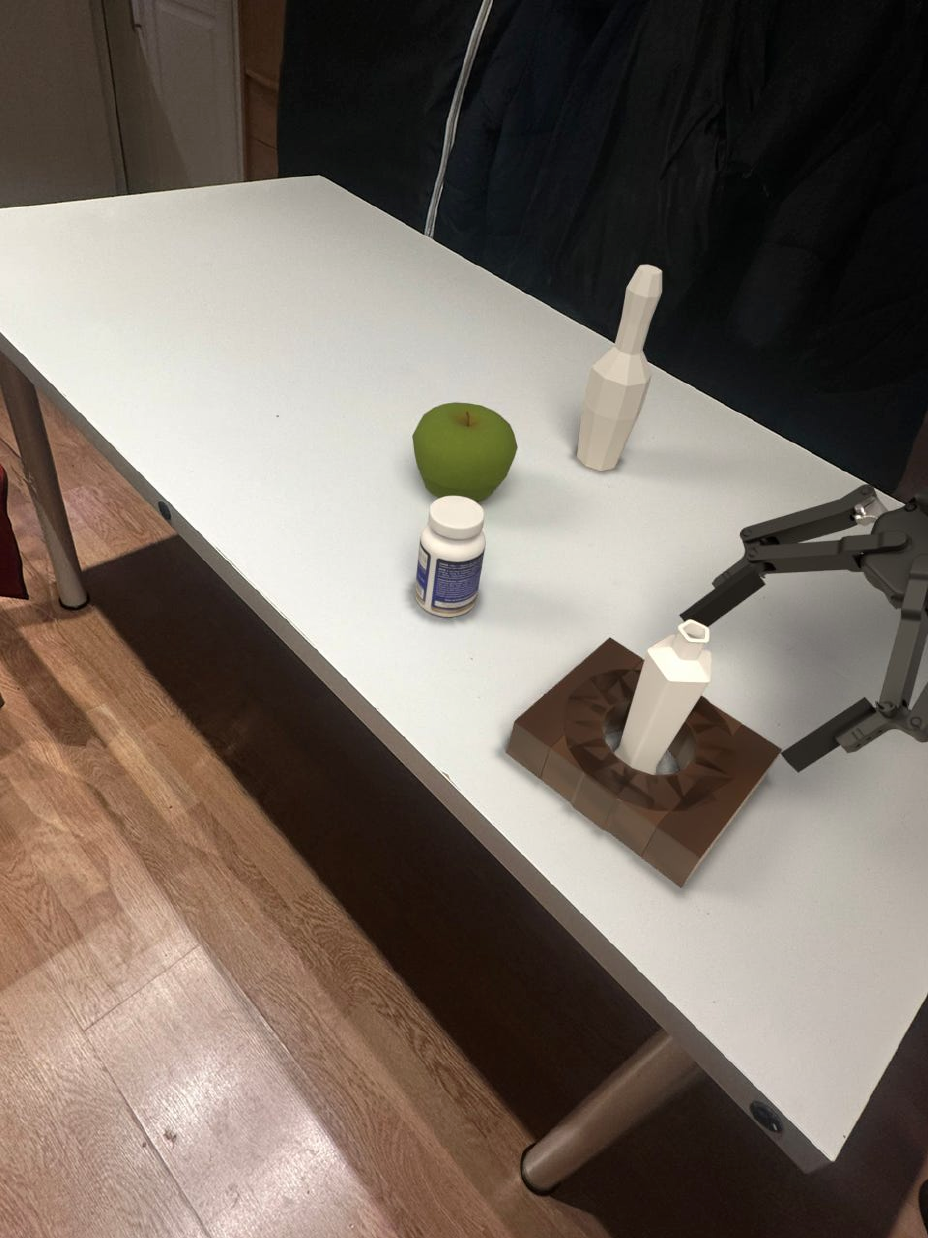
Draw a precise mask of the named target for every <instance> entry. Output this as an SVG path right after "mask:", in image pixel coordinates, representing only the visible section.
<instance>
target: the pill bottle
mask: <svg viewBox="0 0 928 1238" xmlns="http://www.w3.org/2000/svg"><path fill="white" fill-rule="evenodd" d="M427 517H428V518H427V523H426V524H425V525H424V526H423V527H422V530H421V532H420V536H419V545H418V556H417V566H416V575H415V585H414V586H415V587H414V595H415V599H416V601H417V603H418V605H419V606H420V607H421V608H422V609H423V610H425V611H426V612H428V613H429V614H432V615H434V616H438V617H443V618H454V617H455V618H456V617H459V616H462V615H464V614H466V613H468V612H469V611H470V610H472V608H473V607H474V606H475V604H476V602H477V598H478V592H479V586H480V580H481V576H482V569H483V563H484V557H485V551H486V545H487V544H486V543H487V539H486V535H485V532H484V530H483V528H484V525H485V524H484V523H485V510H484V508H483V507H482V506H481V505H480V504H479V503H478V501H476V502H475V501H473V500H471V499H469V498H466V497H461V496H445V497H442V498H437V499H435V500H434V501H432V503H431V504H430V506H429V511H428V516H427Z"/></svg>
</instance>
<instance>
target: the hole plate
mask: <svg viewBox="0 0 928 1238" xmlns="http://www.w3.org/2000/svg"><path fill="white" fill-rule="evenodd" d="M644 660H645V659H644V658H643V657H641V656H640V655H639V654H637V653H635V652H634V651H632V650H631V649H629V648H628V647H626V646H625V645H623V644H622V643H620V642H618V641H617V640H615V639H614V638H612V637H608V638H607V639H606V640H605V641H603V642H602V643H601V644H600V645H599V646H598V647H596V649H594V650H593V651H591V653H590V654H589V655H588V656H587V657H585V658H584V659H583V660H582V661H581V662H580V663H579V664H577V665H576V666H575V667H573V669H571V671H570V672H568V673H567V674H566V675H565V676H564V677H563V678H561V679H560V680H559V681H558V682H557V683H556V684H555V685H553V686H552V687H551V688H549V690H548V691H546V693H544V694H543V695H542V696H541V697H540V698H539V699H538V700H536V701H535V702H534V703H533V704H532V705H530V707H528V708H527V709H526V710H525V711H524V712H523V713H521V714H520V715H519V716H518V717H517V718H516V719H515V720H513V724H512V729H511V733H510V737H509V740H508V744H507V748H506V751H505V753H506V754H507V755H508V756H509V757H510V758H512V759H514V760H515V762H517V763H518V764H520V765H521V766H522V767H524V768H526V770H528V771H529V772H531V774H533V775H534V776H536V777H537V778H538V779H540V781H542V782H543V783H545V784H546V785H547V786H548V787H550V788H551V789H552V790H554V791H555V792H556V793H558V794H559V795H560V796H562V797H563V798H564V799H565V800H567V801H568V802H569V803H570V804H571V805H572V806H573V808H574V809H575V810H576V811H578V812H579V813H581V814H582V815H583V816H585V817H586V818H587V819H588V820H589V821H591V822H592V823H594V824H595V825H596V826H597V827H599V828H600V829H602V830H603V831H606V832H608V833H610V834H611V835H612V836H614V838H616V839H617V840H619V841H620V842H621V843H622V844H624V845H625V846H626V847H627V848H629V849H630V850H631V851H633V852H634V853H636V854H637V855H638V856H639V857H641V858H642V859H643V860H644V861H646V862H647V863H648V864H650V865H651V866H652V867H654V868H655V869H656V870H657V871H659V873H661V874H663V875H664V876H665V877H666V878H667V879H669V880H671V881H672V882H673V883H674V884H676V885H677V886H678V887H680V889H682V888H683V887H684V886H685V884H686V883H687V882H688V880H689V879H690V878H691V876H692V875H693V874H694V872H695V871H696V870H697V868H698V867H699V866H700V864H702V862H703V861H704V860H705V858H706V857H707V855H708V854H709V853H710V851H711V850H712V849H713V847H714V846H715V845H716V843H717V842H718V840H719V839H720V838H721V837H722V835H723V834H724V832H725V831H726V830H727V828H728V827H729V826H730V824H731V823H732V822H733V820H734V819H735V817H737V815H738V814H739V813H740V811H741V810H742V808H743V807H744V806H745V804H746V803H747V802H748V801H749V799H750V798H751V797H752V795H753V793H754V792H755V791H756V790H757V788H759V786H760V785H761V783H762V782H763V781H764V779H765V777H766V776H767V774H768V773H769V771H770V770H771V768H772V767H773V765H774V764H775V762H776V760H777V759H778V757H779V756H780V755H781V752H783V749H782V748H781V747H780V746H777V745H776V744H775V743H773V742H771V740H768V739H767V738H765V737H764V736H762V735H761V734H759V733H758V732H756V731H755V730H753V729H752V728H750V727H749V726H747V725H746V724H744V723H742V722H741V721H739V720H738V719H736V718H734V717H733V716H732V715H730V714H728V713H727V712H726V711H724V710H723V709H721V708H719V707H718V706H716V705H715V704H713V703H712V702H711V701H710V700H708V698H706V697H705V696H704V695H703V694H702V695H701V696H700V698H699V699H698V701H697V703H696V704H695V706H694V707H693V709H692V710H691V712H690V714H689V715H688V717H687V718H686V720H685V722H684V723H683V725H682V726H681V728H680V729H679V731H678V733H677V734H676V736H675V737H674V739H673V741H672V742H671V744H670V745H669V747H668V748H667V751H669V752H670V754H671V755H672V756H673V757H674V759H675V760H676V763H677V767H678V769H679V770H678V771H676V772H673V773H671V774H655V775H652V774H649V773H646V772H643V771H640V770H637V769H634V768H632V767H630V766H629V765H628V764H626V763H625V762H624V761H622V760H621V759H619V758H618V757H617V756H616V755H615V754H614V753H613V752H614V751H613V750H612V748H611V747H610V745H609V744H608V743H607V741H606V736H605V735H608V734H611V733H614V732H617V731H624V728H625V725H626V722H627V718H628V715H629V711H630V708H631V705H632V701H633V698H634V694H635V691H636V688H637V684H638V681H639V677H640V674H641V671H642V667H643V664H644Z"/></svg>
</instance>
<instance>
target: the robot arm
mask: <svg viewBox="0 0 928 1238" xmlns="http://www.w3.org/2000/svg"><path fill="white" fill-rule="evenodd" d="M870 524H873V525H872V528H871V531H870V533H869V534H855V535H845V536H842V537H841V538H840V539H835V540H821V541H810V540H814V539H817V538H821V537H825V536H828V535H832V534H836V533H838V532H843V531H846V530H849V529H851V528H854V527H856V526H859V525H861V526H864V527H866V526H869V525H870ZM739 537H740V539H741V542H742V544H743V548H744V553H743V555H742V557H741V558H740V559H738V560H737V561H736V562H734V563H733V564H732V565H731V566H729V567H728V568H727V569H726V570H724V571H723V572H722V573H720V574H719V575H717V576H716V577H715V578H714V579H713V581H712V582H711V585H712V586H713V589H712V590H711V591H709V592H708V593H707V594H705V595H704V596H703V597H701V598H700V599H699V600H697V601H696V602H695V603H693V604H692V605H691V606H690V607H688V608H687V609H685V610H684V611H683V612H682V613H680V614H679V617H680V618H681V620H682V621H683V623H684V622H686V621H687V620H694V621H696V622H698V623H700V624H702V625H704V626H706V627H708V628H709V627H711V626H712V625H713V624H715V623H716V622H717V621H719V620H721V618H723V617H724V616H725V615H727V614H728V613H729V612H731V611H732V610H734V609H735V608H736V607H737V606H739V605H740V604H742V603H744V601H746V600H747V599H748V598H750V597H752V595H754V594H755V593H757V592H758V591H759V590H761V589H762V588H763V587H765V586H766V585H767V584H766V582H765V580H763V579H766V575H774V574H793V573H794V574H795V573H810V572H828V571H829V572H830V571H848V572H851V573H863V575H864V577H865V579H866V581H867V582H868V583H869V584H870V585H871V586H872V587H873V588H874V589H877V590H879V591H880V592H882V593H884V595H885V597H886V599H887V602H888V603H889V604H890V605H891V606H892V607H893V608H894V609H895V610H897V609H899V610H900V620H899V624H898V628H897V633H896V634H895V640H894V643H893V647H892V650H891V654H890V658H889V662H888V665H887V669H886V673H885V677H884V681H883V684H882V688H881V692H880V695H879V699H878V701H877V700H875V701H874V705H875V706H874V705H873V704H872V703H871V701H870V700H869V699H868V698H867V697H866V696H864V697H862V698H861V699H859V700H858V701H856V702H855V703H853V704H852V705H850V706H849V707H847V708H846V709H844V710H843V711H842V712H840V713H838V714H837V715H835V716H834V717H832V718H831V719H829V720H828V721H826V722H825V723H823V724H822V725H820V726H819V727H817V728H816V729H814V730H813V731H811V732H810V733H808V734H807V735H805V736H804V737H802V738H801V739H799V740H798V741H797V742H794V743H793V744H792V745H790V746H789V747H787V748H786V749H784V750H782V751H781V753H780V755H781V756H782V758H783V759H784V761H785V762H786V763H787V764H788V765H789V766H790V767H791V768H792V769H794V770H795V771H796V772H797V774H799V773H800V772H802V771H803V770H805V769H807V768H808V767H810V766H811V765H813V764H814V763H815V762H817V761H819V760H820V759H822V758H824V757H825V756H826V755H828V754H830V753H831V752H833V751H835V750H836V749H837V748H839V747H841V748H842V749H843V750H844V752H845V753H846V754H847V755H849V754H852V753H856V752H858V751H859V750H861V749H863V748H864V747H865V746H867V745H869V744H870V743H872V742H873V741H875V740H876V739H878V738H879V737H881V736H882V735H884V734H886V733H887V732H889V731H892V730H898V731H901V732H903V733H905V734H906V735H908V736H910V737H912V738H913V739H914V741H916V742H918V743H922V744H923V743H924V744H925V743H928V681H927V682H926V684H925V685H924V687H923V688H922V691H921V692H920V694H919V696H918V698H917V699H916V701H915V702H914V704H913V706H912V708H911V709H909V708H910V704H911V700H912V696H913V692H914V689H915V684H916V681H917V677H918V673H919V670H920V666H921V661H922V658H923V653H924V649H925V645H926V642H927V638H928V484H926V485H925V486H924V487H923V488H921V489H919V490H918V491H917V492H916V493H915V494H914V495H913V496H912V497H911V498H910V499H909V501H908V502H906V504H904V505H902V506H901V507H899V508H895V509H892V510H888V508H887V507H886V506H885V505H884V504H883V502H882V501H881V500H880V498H879V496H878V493H877V492H876V489H875V487H874V486H873V485H872V484H869V483H864V484H862V485H860V486H858V487H856V488H855V489H853V490H852V491H850V492H848V493H847V494H845V495H844V496H842V497H840V498H839V499H835V500H832V501H828V502H825V503H821V504H819V505H815V506H811V507H808V508H805V509H801V510H798V511H795V512H792V513H789V514H785V515H782V516H778V517H775V518H772V519H768V520H765V521H761V522H758V523H755V524H752V525H748V526H745V527H743V528H742V529H741V530H740V531H739ZM806 541H807V542H806Z"/></svg>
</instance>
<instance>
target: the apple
mask: <svg viewBox="0 0 928 1238" xmlns="http://www.w3.org/2000/svg"><path fill="white" fill-rule="evenodd" d="M416 425H417V426H416V428H415V430H414V431H413V433H412V436H411V438H412V447H413V453H414V458H415V462H416V467H417V470H418V472H419V474H420V478H421V480H422V482H423V485H424V487H425V489H426V490H427V491H428V492H429V493H430V494H431V495H432V496H433V497H435V498H437V499H439V498H442V497H445V496H461V497H466V498H469V499H471V500H473V501H475V502H480V501H484V500H485V499H487V498H489V497H490V496H491V495H492V494H493V493H494V492H495V491H496V490H497V489H498V487H499V486H500V485H501V484H502V483H503V482H504V481H505V480H506V478H507V476H508V474H509V471H510V469H511V467H512V465H513V463H514V461H515V458H516V455H517V451H518V447H519V446H518V444H517V439H516V438H517V437H516V436H515V432H514V430H513V428H512V426H511V423H509V422H508V420H506V419H505V418H504V417H503V416H502V415H501V414H499V413H498V412H497V411H495V410H493V409H491V408H488V407H486V406H484V405H480V404H475V403H470V402H457V401H456V402H454V401H453V402H449V403H443V404H439V405H437V406H435V407H432V408H431V409H429V410H428V411H427V412H425V413H424V414H423V415H422V417H421V418H420V420H419V422H418V424H416Z"/></svg>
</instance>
